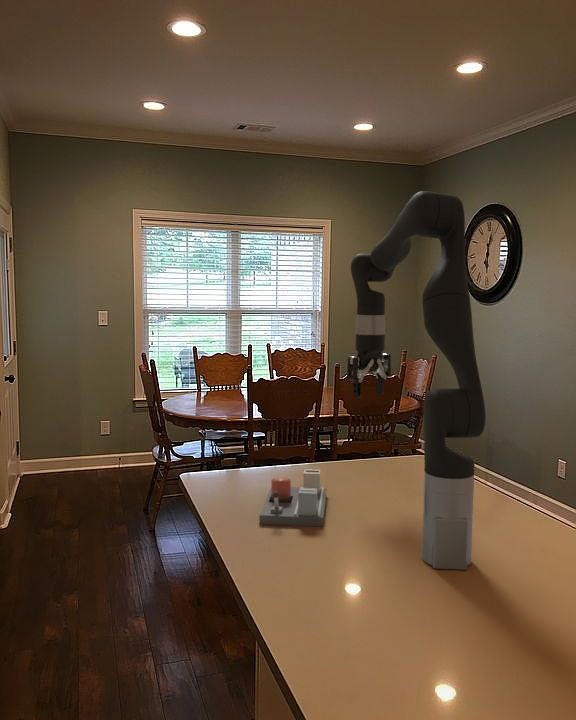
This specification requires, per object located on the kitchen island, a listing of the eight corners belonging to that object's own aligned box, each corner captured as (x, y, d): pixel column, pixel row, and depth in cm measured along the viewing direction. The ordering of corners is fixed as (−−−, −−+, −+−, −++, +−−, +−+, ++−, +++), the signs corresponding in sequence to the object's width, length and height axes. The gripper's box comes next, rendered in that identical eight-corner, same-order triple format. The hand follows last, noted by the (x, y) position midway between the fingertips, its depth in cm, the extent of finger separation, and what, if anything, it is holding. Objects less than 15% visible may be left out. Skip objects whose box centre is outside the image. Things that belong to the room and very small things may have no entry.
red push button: (289, 500, 151) (289, 482, 151) (270, 499, 152) (270, 482, 151) (291, 494, 156) (291, 477, 155) (272, 493, 156) (272, 476, 156)
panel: (322, 526, 141) (322, 495, 140) (259, 524, 142) (259, 492, 142) (326, 496, 163) (326, 468, 162) (271, 494, 164) (271, 466, 164)
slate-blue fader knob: (316, 515, 142) (316, 492, 142) (298, 515, 142) (298, 492, 142) (317, 509, 146) (317, 487, 146) (299, 509, 146) (299, 486, 146)
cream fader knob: (319, 493, 158) (319, 473, 157) (303, 493, 158) (303, 472, 158) (320, 489, 162) (320, 468, 161) (304, 488, 162) (304, 468, 162)
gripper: (362, 334, 158) (361, 399, 159) (399, 332, 167) (397, 394, 169) (340, 332, 163) (339, 396, 165) (377, 330, 172) (376, 390, 174)
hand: (369, 395), depth 167 cm, fingers open, 8 cm apart
